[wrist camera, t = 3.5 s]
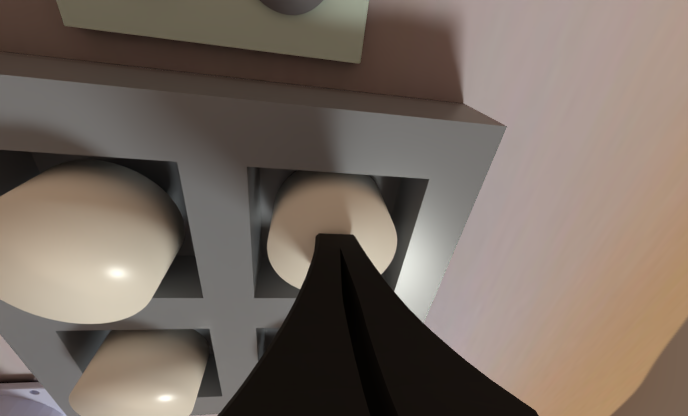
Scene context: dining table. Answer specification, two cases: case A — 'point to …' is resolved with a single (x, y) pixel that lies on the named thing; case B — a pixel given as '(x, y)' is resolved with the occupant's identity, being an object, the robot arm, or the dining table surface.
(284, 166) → the button board
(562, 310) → the dining table surface
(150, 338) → the button
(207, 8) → the tile
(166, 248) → the button
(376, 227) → the button
